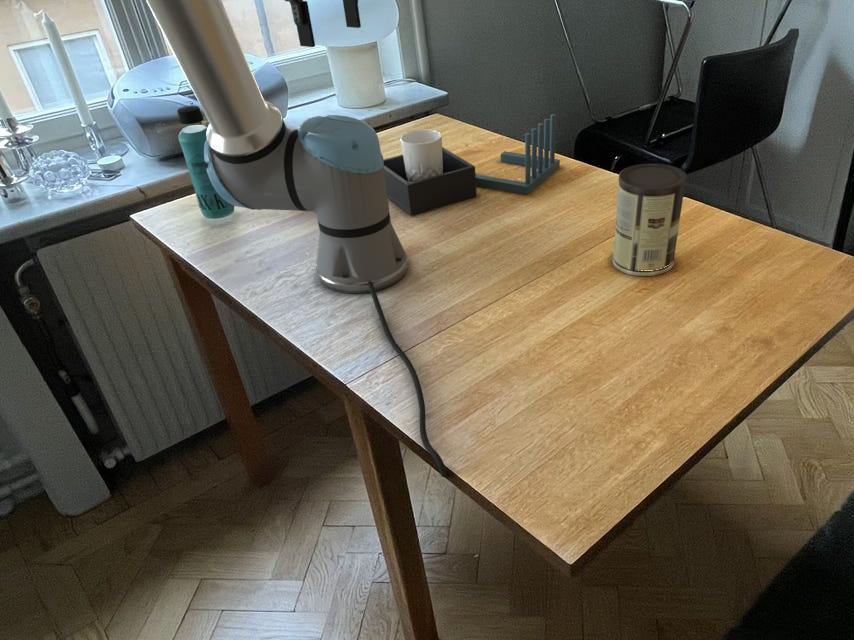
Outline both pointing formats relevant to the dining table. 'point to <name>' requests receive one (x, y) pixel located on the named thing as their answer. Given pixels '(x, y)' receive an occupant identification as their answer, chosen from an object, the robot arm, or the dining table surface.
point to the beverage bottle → (200, 164)
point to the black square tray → (430, 184)
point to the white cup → (422, 154)
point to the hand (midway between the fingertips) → (331, 36)
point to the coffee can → (648, 218)
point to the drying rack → (528, 162)
